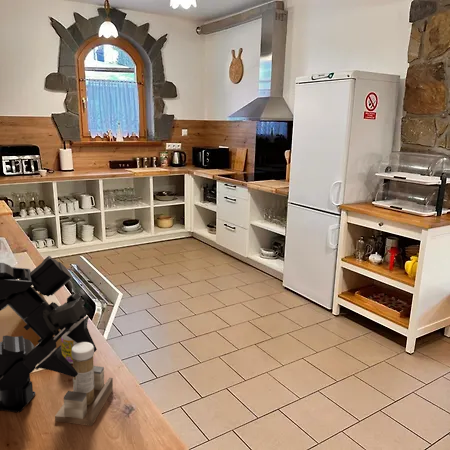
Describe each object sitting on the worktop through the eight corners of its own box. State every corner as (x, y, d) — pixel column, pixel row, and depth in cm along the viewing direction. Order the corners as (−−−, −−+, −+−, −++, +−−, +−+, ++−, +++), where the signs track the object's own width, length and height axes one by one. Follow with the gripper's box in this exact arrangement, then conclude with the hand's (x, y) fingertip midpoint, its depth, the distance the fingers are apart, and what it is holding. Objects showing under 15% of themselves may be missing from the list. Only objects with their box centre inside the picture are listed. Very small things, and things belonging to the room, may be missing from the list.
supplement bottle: (58, 358, 110) (56, 323, 108) (76, 350, 114) (75, 316, 112) (69, 367, 107) (67, 331, 104) (87, 359, 111) (86, 323, 108)
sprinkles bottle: (76, 393, 96) (74, 341, 92) (96, 393, 96) (95, 341, 93) (71, 407, 91) (68, 352, 88) (92, 407, 92) (91, 352, 88)
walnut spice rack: (55, 420, 89) (53, 396, 87) (80, 385, 100) (79, 363, 99) (91, 425, 88) (91, 401, 87) (112, 389, 100) (112, 367, 98)
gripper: (33, 309, 78) (92, 368, 80) (79, 272, 96) (126, 321, 98) (-3, 341, 81) (55, 398, 83) (49, 300, 99) (95, 347, 101)
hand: (86, 362), depth 91 cm, fingers open, 9 cm apart
